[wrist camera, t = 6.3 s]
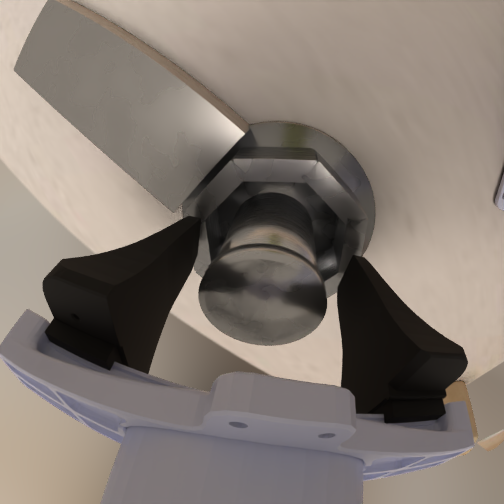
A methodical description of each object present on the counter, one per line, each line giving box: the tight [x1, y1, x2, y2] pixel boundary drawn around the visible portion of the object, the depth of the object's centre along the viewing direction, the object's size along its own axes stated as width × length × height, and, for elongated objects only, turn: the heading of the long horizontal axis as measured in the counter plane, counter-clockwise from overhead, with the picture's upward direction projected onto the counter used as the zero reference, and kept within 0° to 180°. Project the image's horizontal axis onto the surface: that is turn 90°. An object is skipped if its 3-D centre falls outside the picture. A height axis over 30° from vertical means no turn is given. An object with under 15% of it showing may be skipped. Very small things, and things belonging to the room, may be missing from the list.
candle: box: [443, 381, 478, 456], centre depth 21 cm, size 6×6×10 cm
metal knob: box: [198, 192, 327, 346], centre depth 13 cm, size 5×5×6 cm
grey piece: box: [14, 0, 375, 298], centre depth 12 cm, size 26×11×3 cm, turn 47°
